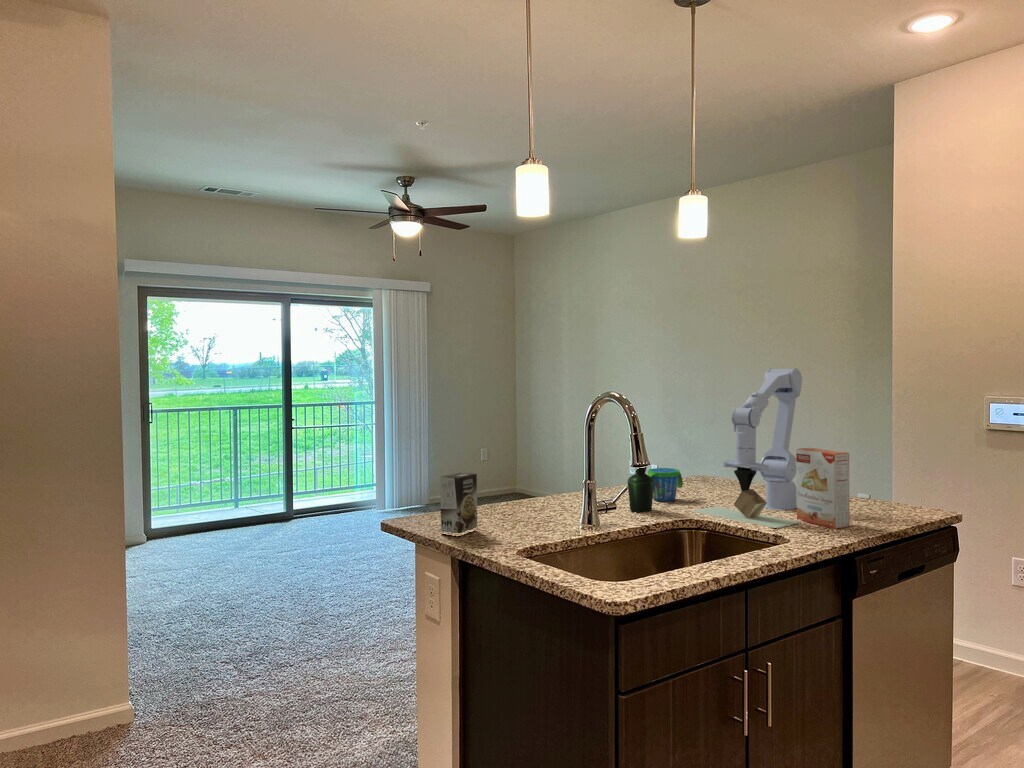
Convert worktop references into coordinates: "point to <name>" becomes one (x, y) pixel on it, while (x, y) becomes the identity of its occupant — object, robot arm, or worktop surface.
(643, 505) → the potion bottle
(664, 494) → the snack cup
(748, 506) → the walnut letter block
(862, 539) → the worktop surface
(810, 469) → the cracker box
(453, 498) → the coffee box
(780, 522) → the pale green mat
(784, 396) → the robot arm
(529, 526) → the worktop surface
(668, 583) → the worktop surface
